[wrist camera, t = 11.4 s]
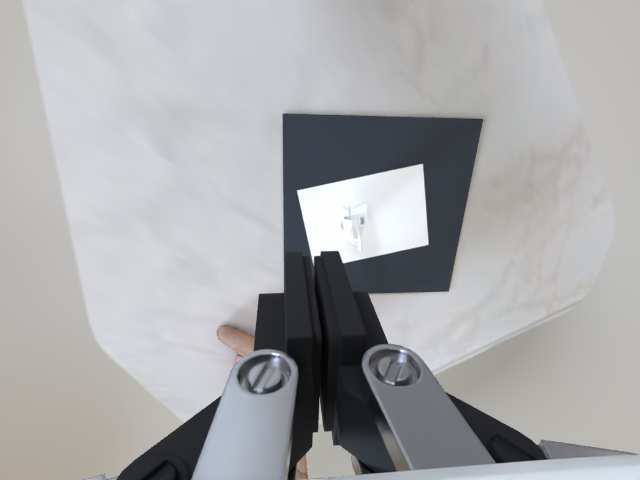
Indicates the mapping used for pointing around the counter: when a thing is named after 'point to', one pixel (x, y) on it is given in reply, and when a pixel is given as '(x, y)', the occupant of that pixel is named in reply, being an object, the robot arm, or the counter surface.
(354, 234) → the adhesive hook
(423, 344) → the counter surface
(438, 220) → the centre mat
